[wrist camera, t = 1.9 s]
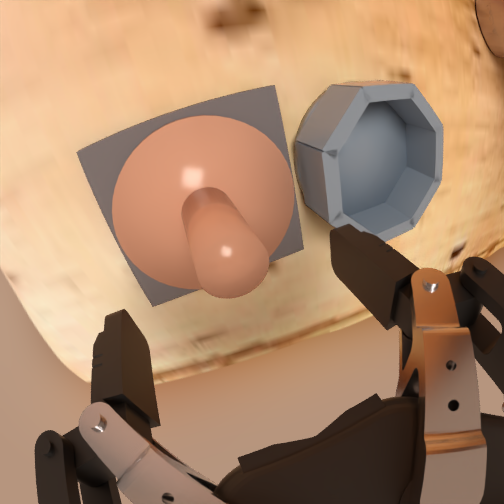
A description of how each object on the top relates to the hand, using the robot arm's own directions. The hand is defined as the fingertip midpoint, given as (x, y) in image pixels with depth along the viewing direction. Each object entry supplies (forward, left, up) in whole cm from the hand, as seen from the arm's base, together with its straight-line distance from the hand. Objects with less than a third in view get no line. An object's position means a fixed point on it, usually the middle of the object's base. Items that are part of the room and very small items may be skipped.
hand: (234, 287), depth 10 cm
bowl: (-12, 0, -9) cm, 15 cm away
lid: (0, 0, -9) cm, 9 cm away
